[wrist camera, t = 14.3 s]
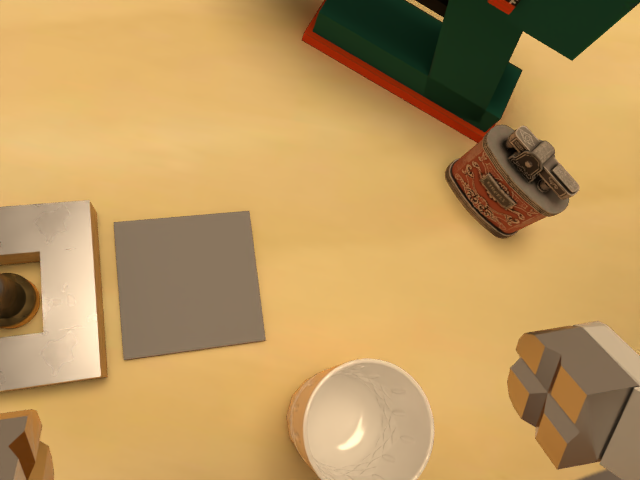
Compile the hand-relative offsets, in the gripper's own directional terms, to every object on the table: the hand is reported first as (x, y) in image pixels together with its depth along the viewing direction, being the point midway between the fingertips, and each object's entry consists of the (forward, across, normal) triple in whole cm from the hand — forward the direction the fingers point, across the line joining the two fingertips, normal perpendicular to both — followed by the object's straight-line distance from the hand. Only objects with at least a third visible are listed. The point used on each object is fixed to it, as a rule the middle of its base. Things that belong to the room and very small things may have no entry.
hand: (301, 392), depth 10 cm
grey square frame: (+29, +14, +18) cm, 37 cm away
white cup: (+21, -8, +26) cm, 35 cm away
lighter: (+32, -24, +15) cm, 43 cm away
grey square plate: (+29, +1, +18) cm, 34 cm away
